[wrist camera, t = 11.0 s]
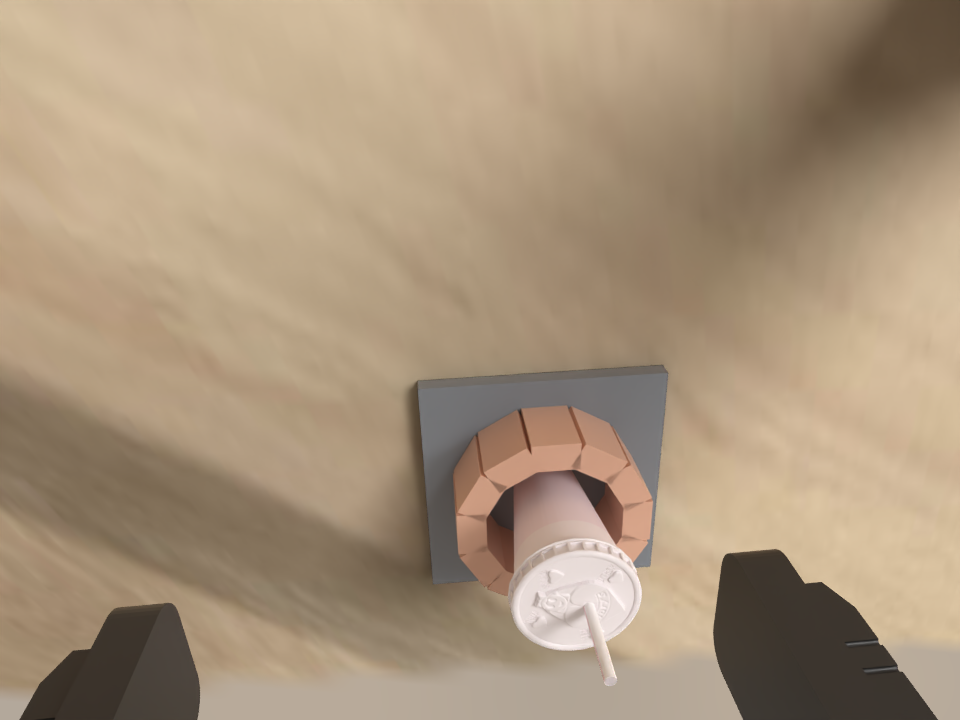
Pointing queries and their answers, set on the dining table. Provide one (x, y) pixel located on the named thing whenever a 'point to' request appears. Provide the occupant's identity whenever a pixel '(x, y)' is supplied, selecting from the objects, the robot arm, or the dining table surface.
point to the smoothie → (568, 570)
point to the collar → (537, 459)
